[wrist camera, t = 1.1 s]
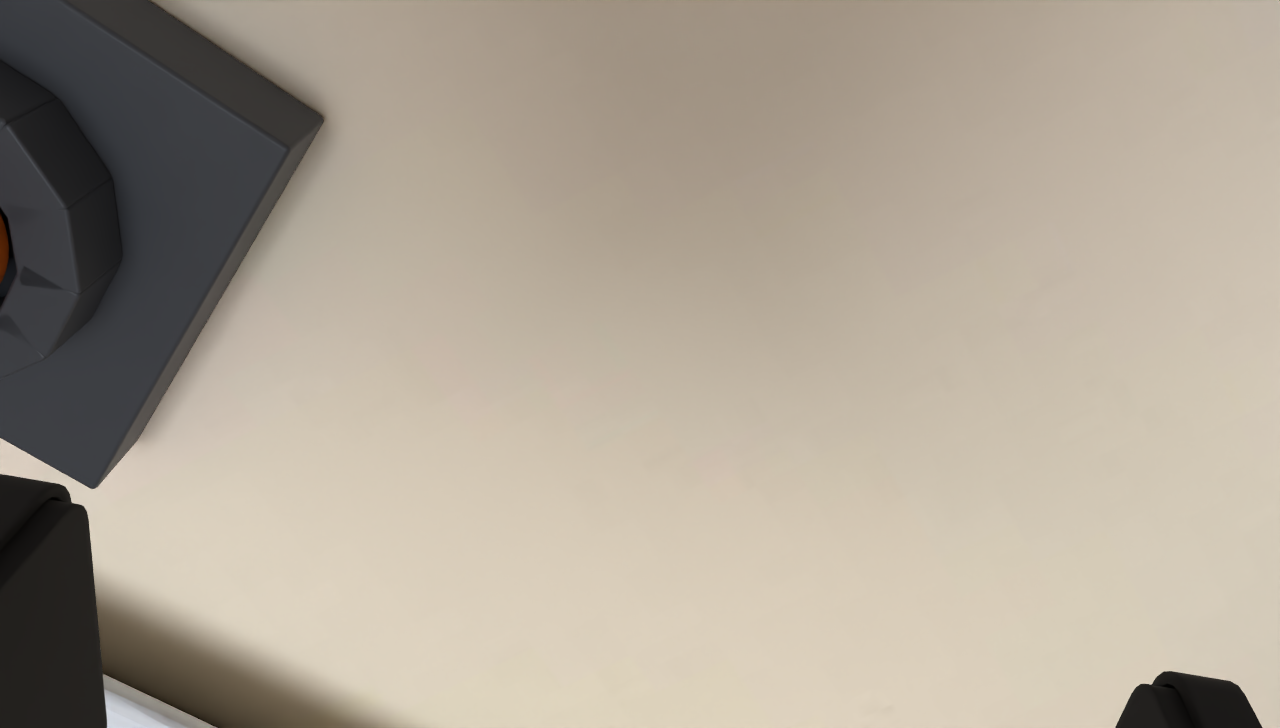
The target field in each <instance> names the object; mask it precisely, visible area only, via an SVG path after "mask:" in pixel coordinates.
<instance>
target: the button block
mask: <svg viewBox="0 0 1280 728" xmlns="http://www.w3.org/2000/svg"><path fill="white" fill-rule="evenodd" d="M322 123H323V117H322V116H320V115H319V114H317V113H316V112H314V111H313V110H311V109H310V108H308V107H307V106H305V105H304V104H302V103H301V102H299V101H298V100H296V99H295V98H293V97H292V96H290V95H289V94H287V93H286V92H284V91H283V90H281V89H280V88H278V87H277V86H275V85H274V84H272V83H271V82H269V81H268V80H266V79H265V78H263V77H262V76H260V75H259V74H257V73H256V72H254V71H253V70H251V69H250V68H248V67H247V66H245V65H244V64H242V63H241V62H239V61H238V60H236V59H235V58H233V57H232V56H230V55H229V54H227V53H226V52H224V51H223V50H221V49H220V48H218V47H217V46H216V45H214V44H213V43H211V42H210V41H208V40H207V39H205V38H204V37H202V36H201V35H199V34H198V33H196V32H195V31H193V30H192V29H190V28H189V27H187V26H186V25H184V24H183V23H181V22H180V21H178V20H177V19H175V18H174V17H172V16H171V15H169V14H168V13H166V12H165V11H163V10H162V9H160V8H159V7H157V6H156V5H154V4H153V3H151V2H150V1H148V0H0V213H1V216H2V218H3V221H4V224H5V227H6V231H7V235H8V243H9V259H8V264H7V269H6V272H5V275H4V277H3V280H2V282H1V283H0V438H2V439H3V440H5V441H7V442H9V443H11V444H12V445H14V446H16V447H18V448H19V449H21V450H23V451H25V452H27V453H28V454H30V455H32V456H34V457H35V458H37V459H39V460H41V461H43V462H44V463H46V464H48V465H50V466H52V467H53V468H55V469H57V470H59V471H60V472H62V473H64V474H66V475H68V476H69V477H71V478H73V479H75V480H76V481H78V482H80V483H82V484H84V485H85V486H87V487H89V488H91V489H95V488H96V487H98V486H99V484H100V483H101V482H102V481H103V480H104V479H105V477H106V476H107V475H108V474H109V473H110V472H111V470H112V469H113V468H114V467H115V466H116V465H117V463H118V462H119V461H120V460H121V459H122V458H123V456H124V455H125V454H126V453H127V452H128V451H129V449H130V448H131V447H132V446H133V445H134V444H135V442H136V441H137V440H138V438H139V436H140V435H141V433H142V431H143V430H144V428H145V426H146V424H147V423H148V421H149V419H150V418H151V416H152V414H153V412H154V411H155V409H156V407H157V406H158V404H159V402H160V401H161V399H162V397H163V395H164V394H165V392H166V390H167V389H168V387H169V385H170V383H171V382H172V380H173V378H174V377H175V375H176V373H177V371H178V370H179V368H180V366H181V365H182V363H183V361H184V359H185V358H186V356H187V354H188V353H189V351H190V349H191V348H192V346H193V344H194V342H195V341H196V339H197V337H198V336H199V334H200V332H201V330H202V329H203V327H204V325H205V324H206V322H207V320H208V318H209V317H210V315H211V313H212V312H213V310H214V308H215V306H216V305H217V303H218V301H219V300H220V298H221V296H222V294H223V293H224V291H225V289H226V288H227V286H228V284H229V283H230V281H231V279H232V277H233V276H234V274H235V272H236V271H237V269H238V267H239V265H240V264H241V262H242V260H243V259H244V257H245V255H246V253H247V252H248V250H249V248H250V247H251V245H252V243H253V241H254V240H255V238H256V236H257V235H258V233H259V231H260V230H261V228H262V226H263V224H264V223H265V221H266V219H267V218H268V216H269V214H270V212H271V211H272V209H273V207H274V206H275V204H276V202H277V200H278V199H279V197H280V195H281V194H282V192H283V190H284V188H285V187H286V185H287V183H288V182H289V180H290V178H291V176H292V175H293V173H294V171H295V170H296V168H297V166H298V165H299V163H300V161H301V159H302V158H303V156H304V154H305V153H306V151H307V149H308V147H309V146H310V144H311V142H312V141H313V139H314V137H315V135H316V134H317V132H318V130H319V129H320V127H321V125H322Z"/></svg>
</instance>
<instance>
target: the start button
mask: <svg viewBox="0 0 1280 728" xmlns="http://www.w3.org/2000/svg"><path fill="white" fill-rule="evenodd" d="M8 259H9V243H8V235H7V231H6V227H5V224H4V221H3V218H2V216H1V213H0V283H1V282H2V280H3V277H4V275H5V272H6V269H7V264H8Z"/></svg>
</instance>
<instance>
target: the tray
mask: <svg viewBox="0 0 1280 728" xmlns="http://www.w3.org/2000/svg"><path fill="white" fill-rule="evenodd" d="M103 682H104V693H105V704H106V714H107V728H217V727H214V726H212V725H210V724H208V723H206V722H204V721H202V720H200V719H198V718H195V717H193V716H191V715H189V714H187V713H185V712H183V711H181V710H179V709H176V708H174V707H172V706H170V705H168V704H166V703H164V702H162V701H160V700H158V699H155V698H153V697H151V696H149V695H147V694H145V693H143V692H141V691H138V690H136V689H134V688H132V687H130V686H128V685H126V684H124V683H121V682H119V681H117V680H115V679H113V678H111V677H109V676H107V675H104V674H103Z"/></svg>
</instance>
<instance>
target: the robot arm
mask: <svg viewBox="0 0 1280 728" xmlns="http://www.w3.org/2000/svg"><path fill="white" fill-rule="evenodd" d="M0 728H107V714H106V704H105V693H104V682H103V671H102V661H101V650H100V639H99V628H98V618H97V607H96V596H95V585H94V574H93V564H92V553H91V542H90V531H89V521H88V515H87V511H86V510H85V508H84V506H82V505H79V504H74V503H72V502H71V498H70V494H69V492H68V490H67V489H66V487H65V486H62V485H60V484H56V483H50V482H44V481H38V480H32V479H26V478H20V477H14V476H8V475H2V474H0ZM1115 728H1262V726H1261V724H1260V722H1259V720H1258V719H1257V717H1256V715H1255V713H1254V711H1253V709H1252V707H1251V705H1250V703H1249V702H1248V700H1247V698H1246V696H1245V694H1244V693H1243V692H1242V690H1241V689H1240V687H1239V686H1238V685H1236V684H1234V683H1233V682H1231V681H1226V680H1220V679H1214V678H1208V677H1202V676H1196V675H1190V674H1184V673H1178V672H1172V671H1168V672H1163V673H1161V674H1160V675H1159V676H1157V677H1156V679H1155V680H1154V682H1153V684H1152V685H1149V684H1140V685H1139V686H1137V687H1136V688H1135V690H1134V691H1133V693H1132V694H1131V696H1130V698H1129V700H1128V702H1127V704H1126V707H1125V709H1124V711H1123V713H1122V715H1121V717H1120V719H1119V721H1118V723H1117V725H1116V727H1115Z"/></svg>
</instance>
